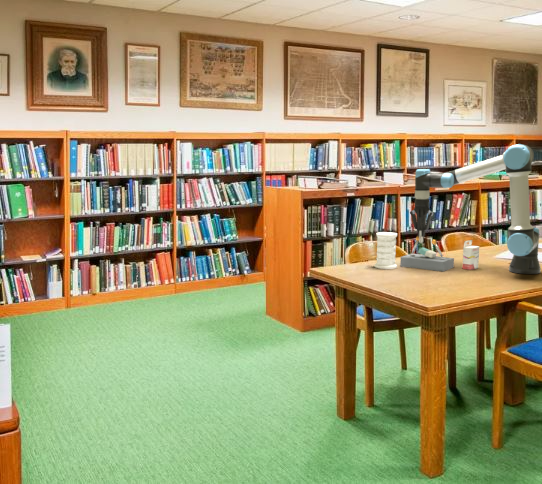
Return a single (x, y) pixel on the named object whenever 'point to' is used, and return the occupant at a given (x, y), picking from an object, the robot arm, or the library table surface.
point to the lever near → (436, 246)
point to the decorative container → (386, 250)
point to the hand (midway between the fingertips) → (421, 242)
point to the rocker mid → (427, 252)
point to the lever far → (415, 244)
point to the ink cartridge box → (470, 256)
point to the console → (427, 262)
